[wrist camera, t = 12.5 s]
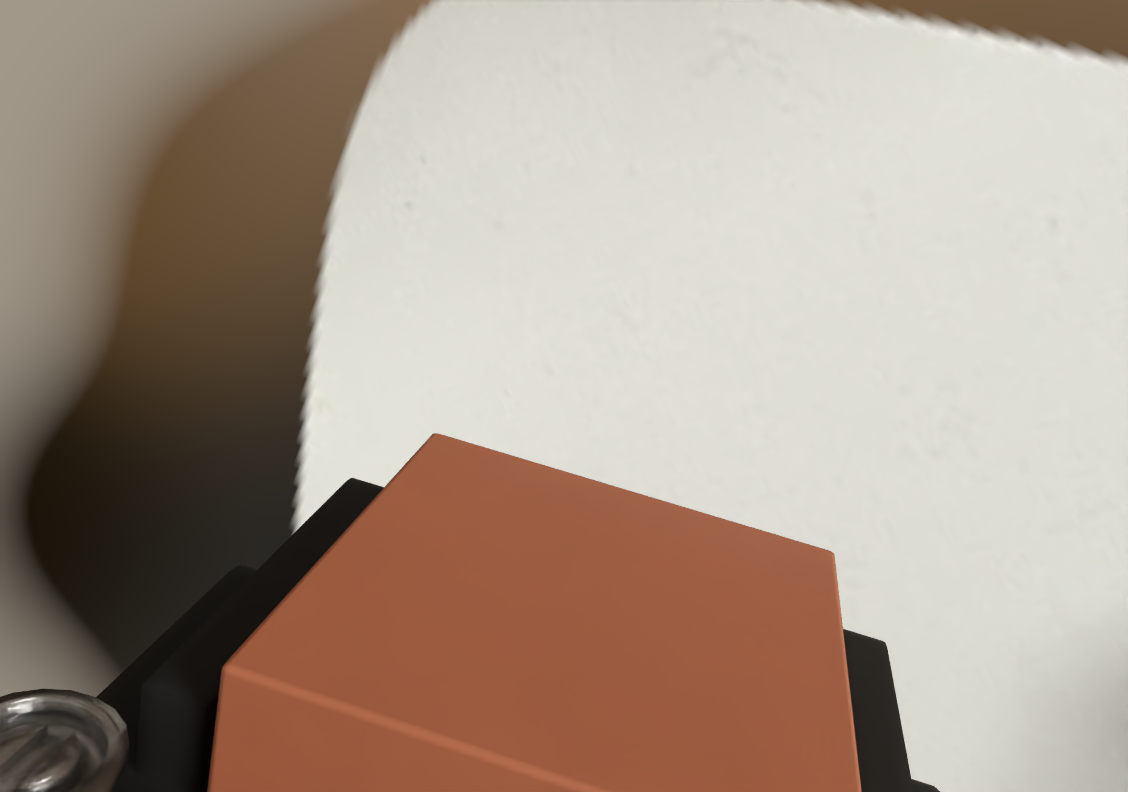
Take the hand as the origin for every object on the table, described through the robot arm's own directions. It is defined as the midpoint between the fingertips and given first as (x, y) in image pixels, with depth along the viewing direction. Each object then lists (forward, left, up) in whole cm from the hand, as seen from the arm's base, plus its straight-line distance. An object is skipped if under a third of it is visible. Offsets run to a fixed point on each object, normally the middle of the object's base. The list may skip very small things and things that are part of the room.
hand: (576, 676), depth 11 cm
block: (0, 0, 0) cm, 0 cm away
